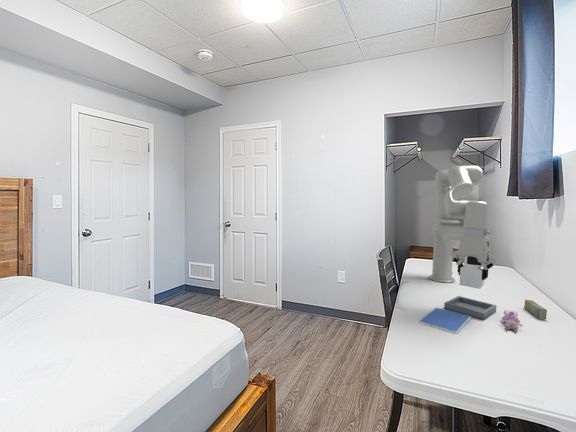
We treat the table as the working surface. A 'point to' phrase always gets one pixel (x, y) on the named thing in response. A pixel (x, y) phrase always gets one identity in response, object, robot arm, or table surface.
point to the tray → (470, 307)
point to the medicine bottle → (471, 273)
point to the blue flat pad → (445, 320)
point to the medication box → (535, 309)
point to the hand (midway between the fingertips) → (472, 276)
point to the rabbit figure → (511, 320)
